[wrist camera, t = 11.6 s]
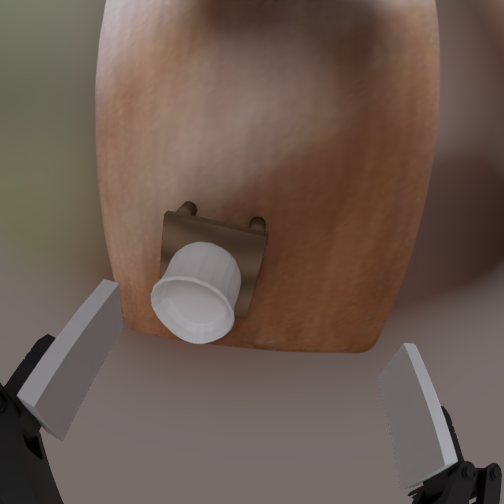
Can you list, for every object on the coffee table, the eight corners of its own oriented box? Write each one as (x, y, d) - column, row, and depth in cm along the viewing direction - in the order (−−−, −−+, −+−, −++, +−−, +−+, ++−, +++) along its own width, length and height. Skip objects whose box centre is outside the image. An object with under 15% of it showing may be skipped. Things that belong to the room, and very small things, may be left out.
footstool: (181, 197, 42) (164, 214, 35) (269, 217, 42) (268, 237, 36) (173, 272, 48) (159, 296, 42) (250, 290, 49) (246, 318, 42)
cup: (227, 307, 41) (216, 355, 33) (166, 280, 40) (142, 323, 31) (254, 258, 37) (248, 303, 29) (185, 227, 36) (159, 264, 27)
